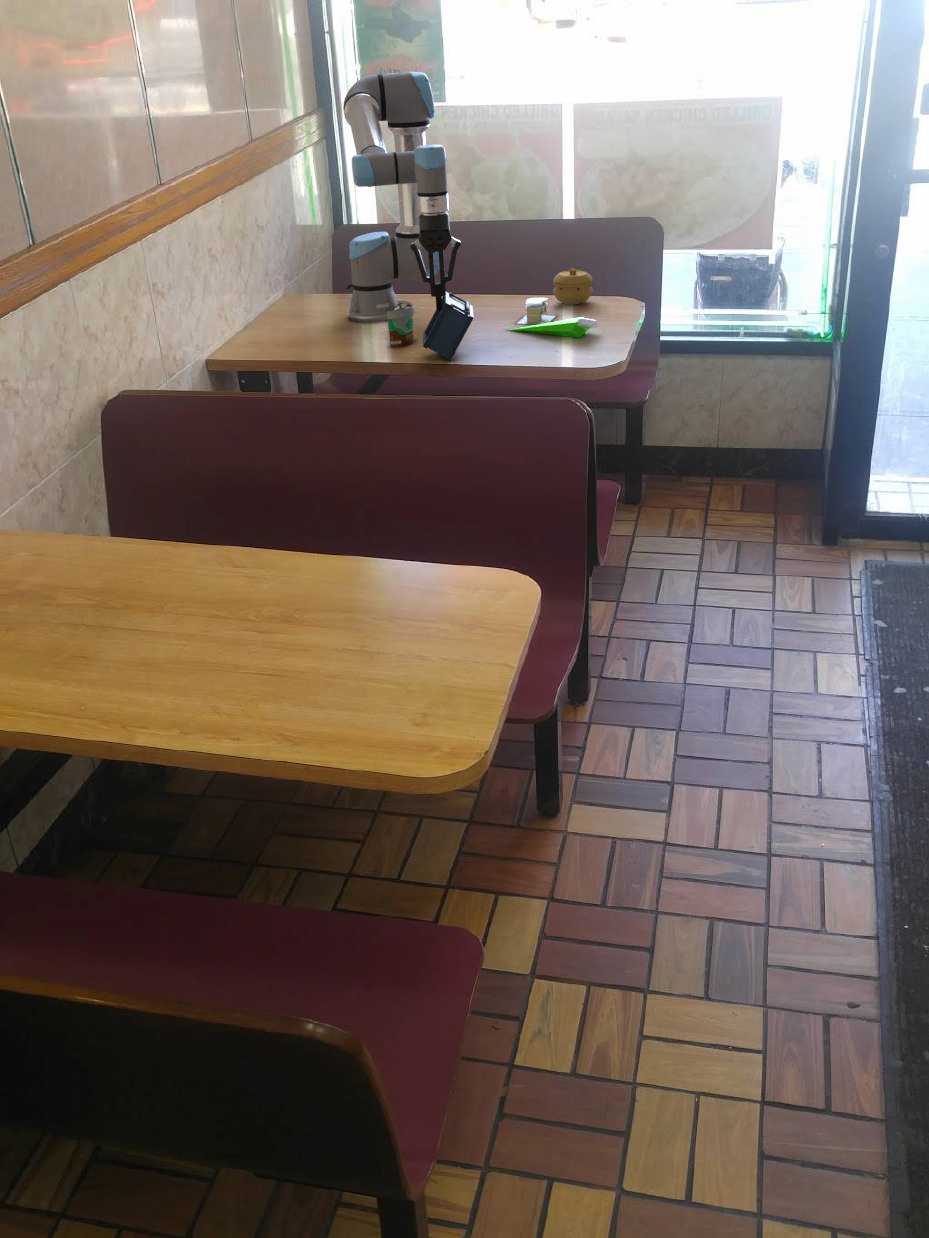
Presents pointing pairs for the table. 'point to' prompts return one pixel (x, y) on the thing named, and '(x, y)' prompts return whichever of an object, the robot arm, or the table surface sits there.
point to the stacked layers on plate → (536, 312)
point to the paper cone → (562, 327)
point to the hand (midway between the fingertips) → (439, 309)
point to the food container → (401, 324)
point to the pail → (448, 326)
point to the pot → (572, 286)
